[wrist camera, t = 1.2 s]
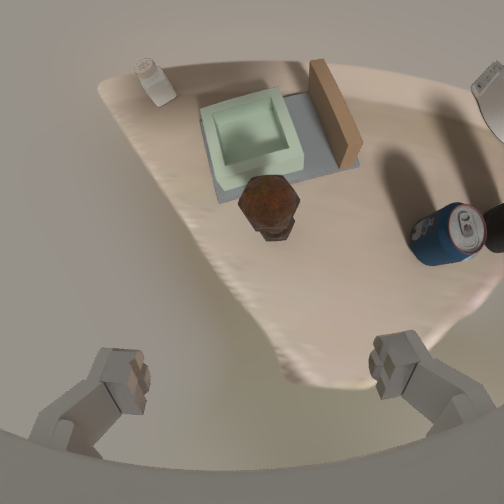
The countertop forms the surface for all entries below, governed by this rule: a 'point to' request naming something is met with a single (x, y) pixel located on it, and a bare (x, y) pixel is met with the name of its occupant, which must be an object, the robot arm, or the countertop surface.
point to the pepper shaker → (154, 82)
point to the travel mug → (495, 229)
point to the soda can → (449, 235)
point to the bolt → (270, 206)
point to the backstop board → (314, 131)
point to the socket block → (251, 138)
